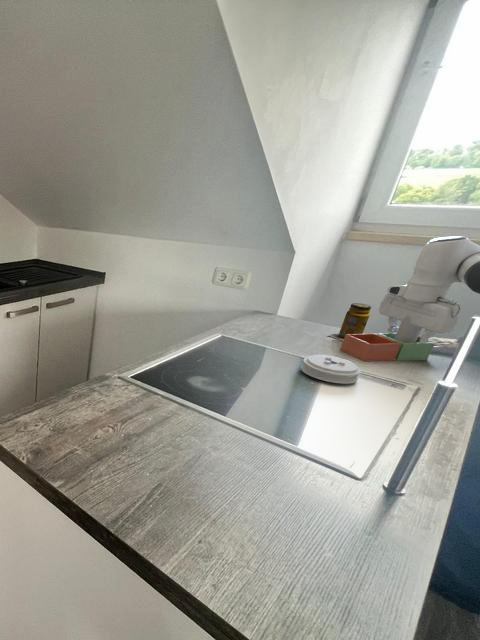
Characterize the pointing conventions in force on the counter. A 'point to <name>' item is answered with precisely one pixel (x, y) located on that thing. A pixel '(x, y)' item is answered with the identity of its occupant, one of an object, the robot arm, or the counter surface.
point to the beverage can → (407, 331)
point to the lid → (330, 369)
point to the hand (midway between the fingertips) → (405, 337)
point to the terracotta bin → (370, 347)
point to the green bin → (410, 349)
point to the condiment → (354, 321)
